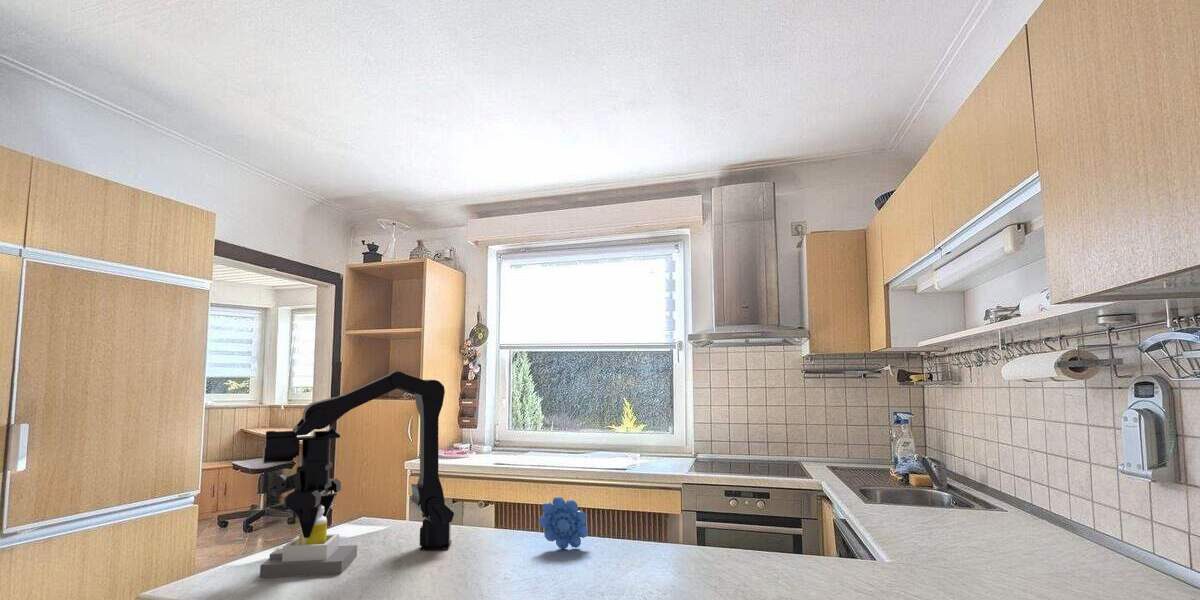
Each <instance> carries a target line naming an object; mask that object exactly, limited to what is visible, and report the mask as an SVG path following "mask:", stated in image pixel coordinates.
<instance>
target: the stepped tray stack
mask: <svg viewBox="0 0 1200 600" xmlns="http://www.w3.org/2000/svg"><path fill="white" fill-rule="evenodd" d="M357 556H358V545H357V544H355V545H340V533H336V534H333V533H332V534H331V533H330V534H326V543H324V544H312V545H299V535H296V537H293V539H291V540H290V541H289V542H288V543H286V544H285V545H284V546H282V548H276V549H275V550H273V551H272V552H270V553H269V558H268V559H267V560H266V561H264V562H262V564H260V566H259V578H260V579H263V578H267V579H268V578H283V577H284V578H285V577H303V576H304V577H305V576H323V575H338V574H339V575H341V574H343V573H344V571H346V569H347V568H348V567H349V566H350V565H351V564H352V563H353V561H354V560H356V559H357Z"/></svg>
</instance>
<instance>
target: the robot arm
mask: <svg viewBox="0 0 1200 600" xmlns="http://www.w3.org/2000/svg"><path fill="white" fill-rule="evenodd" d="M396 389H398V390H399V391H402V392H405V393H408V394H410V395H412V396H414V399H415V405H416V408H417V411H418V415H419V420H420V421H419V477H418V480H417V483H411V493H412V495H411V498H410V501H411V502H412V503H413V506H414V508H415V509H416V510H417V511H418V512H419V513H420V514H421V517H422V519H423V520H422V524H421V526H420V528H419V547H420V551H436V550H437V551H438V550H449V549H450V546H451V545H452V544H451V543H452V539H451V533H452V531H451V527H452V525H451V523H452V521H453V519H454V516H455V513H454V511H453V510H451V508H449V507H448V506H447V505H446V504H445V503H446V501H445V495H444V489H443V487H442V484H441V483H442V482H441V480H440V475H439V417H440V414H441V410H442V408H443V406H444V400H445V392H446V389H445V386H444V384H443V383H442V382H441V381H439V380H437V379H421V378H418V377H414V376H412V375H409V374H406V373H405V372H403V371H399V370H398V371H397V370H394V371H391V372H389V373H388V374H387V375H385V376H381V377H380V378H378V379H375V380H373V381H371V382H369V383H367V384H364V385H363V386H360V387H357V388H356V389H353V390H351V391H349V392H347V393H344V394H342V395H337V396H333V397H330V398H325V399H321V400H318V401H314V402H311V403H309V404H308V405H306V407H304V410H303V411H302V417H301V419H300V420H299V422H298V423H297V424H296V425H294V427H293V428H292V430H278V431H277V430H267V431H265V438H264V445H263V447H262V448H263V451H262V465H266V464H278V463H290V462H293V461H294V458H297V457H299V456H300V441H302V442H301V443H302V444H301V462H300V463H301V464H300V465H299V466H297V467H296V470H295V471H296V473H293V474H290V475H287V476H285V475H284V474H282V473H281V474H279V475H277V476H274V477H272V478H271V479H272V480H271V483H269V484H270V487H269V491H270V492H273V494H274V497H275V498H276V497H279V496H281V495H282V494H284V493H287V492H289V491H292V490H294V491H292V492H290V493H288V495H286V496H285V497H284V498H283V508H284V509H289V510H290V511H293V512H294V514H296V515H297V519H298V520H299V526H300V525H301V528H302V532H303V536H304V538H309V537H310V535H311V533H312V530H313V528H314V525H315V522H316V520H317V517H318V514H319V512H320V509H321V506H324V514H323V516H325V517H326V518H327V516H328V514H329V512H330V509H331V507H332V505H333V504H334V502H335V499H336V497H337V496H338V492H340V491H341V490H342V489H341V486H342V485H341V484H342V482H341V481H340V479H338V478H330V469H332V468H333V462H331V439H340V438H341V434H339V433H338V432H337V431H336V430H335V428H334V427H333V426H331V427H329V426H330V425H332V424H333V423H334V422H336V421H337V420H339V419H341V418H342V417H343V416H344V415H345V414H347V413H349V412H350V411H352V410H353V409H355V408H357V407H360V406H362V405H364V404H366V403H369V402H371V401H373V400H375V399H377V398H379V397H381V396H383V395H385V394H388V393H390V392H392V391H394V390H396ZM327 427H329V429H327V430H323V429H325V428H327ZM314 430H315V431H314ZM316 430H317V431H316ZM311 432H313V433H312V435H309V433H311ZM332 491H334V493H331V492H332Z"/></svg>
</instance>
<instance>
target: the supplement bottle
mask: <svg viewBox="0 0 1200 600" xmlns="http://www.w3.org/2000/svg"><path fill="white" fill-rule="evenodd" d="M323 514H324V506H321V509H320V512H319V514H318V517H317V520H316V522H315V525H314V528H313V530H312V533H311V535H310V537H309V538H304V536H303V532H302V528H301V525H300V524H299V533H298V534H299V535H298V536H299V545H312V544H324V543H326V535H328V534H327V531H328V529H327V527H328V518H327V516H326V517H325V516H323Z"/></svg>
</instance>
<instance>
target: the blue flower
mask: <svg viewBox="0 0 1200 600" xmlns="http://www.w3.org/2000/svg"><path fill="white" fill-rule="evenodd" d="M541 510H542V512H543V514H542V515H540V516H539V519H538V524H539V526H541V528H544V529H545V530H544V531H543V532H544V533H543V534H544V538H545V539H546V540H547V542H551V543H552V542H555V544H556V546H557V547H558V549H561V550H566V549H568V547H569V545H570V546H571V548H576V549H577V548H579V547H580V546H581V544H582V540H581V538H582V539H584V538H586V537H587V536H588V534H589V528H588V527H587V526H586V525H585V524H586V523H587V520H588V517H587V514H586V513H585V511H583V510H579V506H578V503H577V502H576V501H575V500H573V499H569V500H567V501H565V500H564V498H562V497H561V496H558V495H557V496H554V497H553V499H552V503H551V502H545V503H543V504H542V508H541Z"/></svg>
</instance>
